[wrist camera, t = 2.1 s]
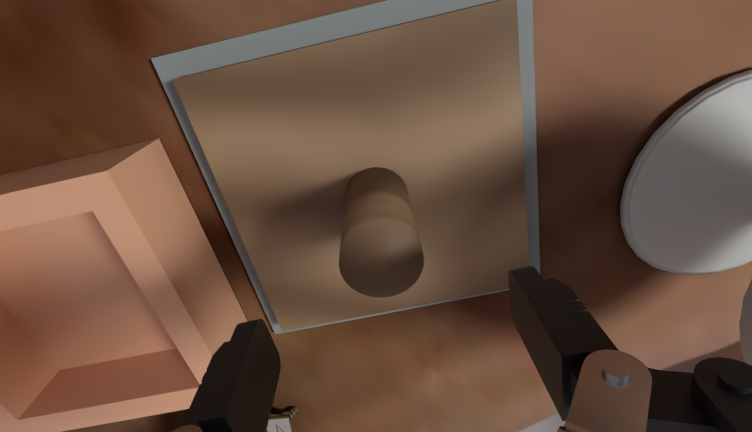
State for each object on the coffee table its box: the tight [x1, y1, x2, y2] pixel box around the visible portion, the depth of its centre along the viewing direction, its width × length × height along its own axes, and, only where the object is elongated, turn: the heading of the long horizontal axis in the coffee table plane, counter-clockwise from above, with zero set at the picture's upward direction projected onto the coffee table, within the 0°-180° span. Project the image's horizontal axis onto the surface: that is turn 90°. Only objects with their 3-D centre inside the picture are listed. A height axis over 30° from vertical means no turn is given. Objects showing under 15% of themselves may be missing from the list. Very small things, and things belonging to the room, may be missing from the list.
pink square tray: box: [0, 138, 247, 432], centre depth 21 cm, size 14×14×4 cm
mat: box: [151, 0, 540, 334], centre depth 21 cm, size 17×17×1 cm
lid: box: [173, 0, 529, 331], centre depth 18 cm, size 15×15×7 cm
